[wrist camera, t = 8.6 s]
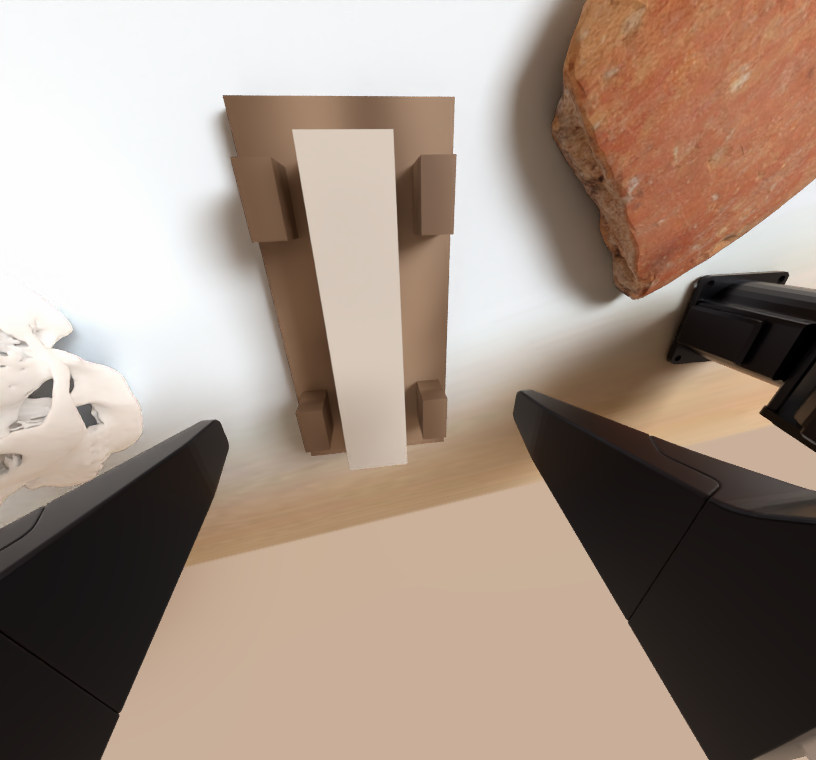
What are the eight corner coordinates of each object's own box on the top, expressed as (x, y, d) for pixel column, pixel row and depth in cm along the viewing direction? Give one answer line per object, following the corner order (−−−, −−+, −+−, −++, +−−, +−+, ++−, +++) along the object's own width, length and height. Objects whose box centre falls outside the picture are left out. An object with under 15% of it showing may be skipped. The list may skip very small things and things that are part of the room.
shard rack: (449, 104, 14) (472, 71, 11) (440, 433, 24) (451, 464, 21) (232, 103, 13) (192, 68, 10) (313, 446, 23) (305, 481, 20)
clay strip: (386, 152, 14) (393, 129, 10) (400, 424, 22) (407, 463, 18) (310, 153, 14) (292, 129, 10) (352, 429, 21) (349, 470, 18)
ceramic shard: (1148, -647, 6) (937, 92, 14) (751, -244, 12) (761, 127, 20) (614, -8, 8) (693, 322, 16) (487, 82, 14) (594, 297, 22)
